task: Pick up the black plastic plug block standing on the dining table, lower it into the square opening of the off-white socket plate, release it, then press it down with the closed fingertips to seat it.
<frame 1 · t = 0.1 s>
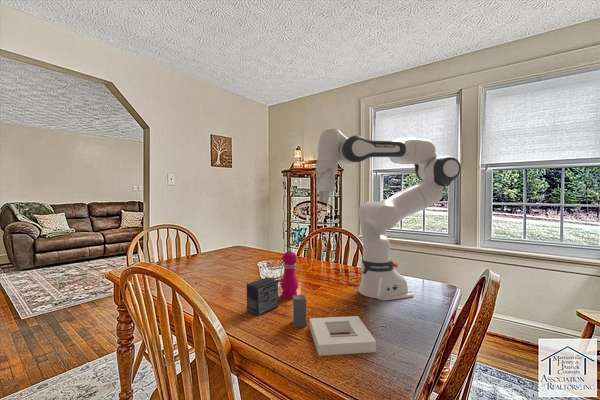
hand: (323, 202, 122), 39 cm above the table, tool pointing down, fingers open, 8 cm apart
small box: (262, 310, 109), on the table
socket: (340, 338, 88), on the table
plug: (299, 323, 98), on the table
pepper mill: (289, 296, 123), on the table
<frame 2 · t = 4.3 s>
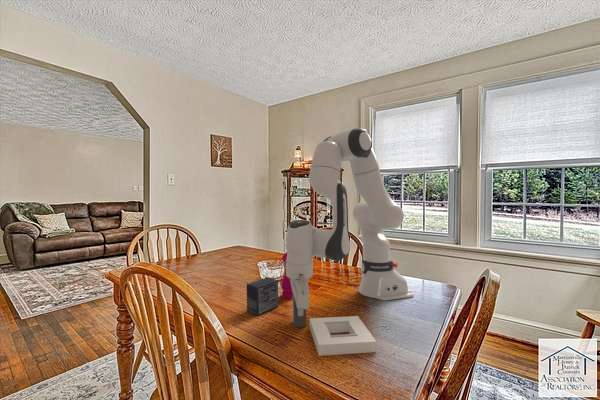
hand: (299, 311, 98), 4 cm above the table, tool pointing down, fingers closed on plug, 4 cm apart
plug: (299, 323, 98), on the table, touching gripper
everything else where it was.
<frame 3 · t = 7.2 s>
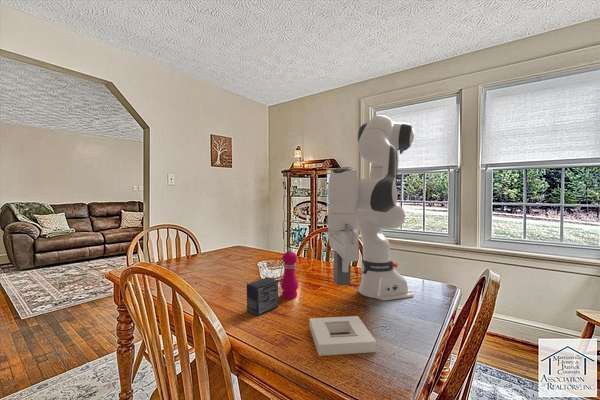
hand: (342, 269, 87), 21 cm above the table, tool pointing down, fingers closed on plug, 4 cm apart
plug: (341, 282, 88), point 17 cm above the table, touching gripper
everything else where it was.
when the fingers open (5 cm above the table, at t = 10.5 s): plug stays where it is, resting in socket.
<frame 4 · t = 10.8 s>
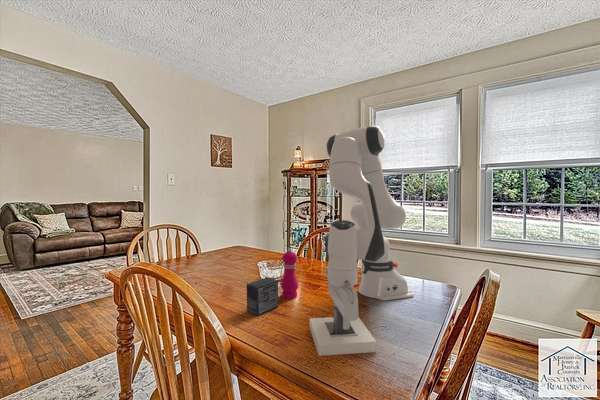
hand: (342, 322, 88), 5 cm above the table, tool pointing down, fingers open, 6 cm apart
plug: (341, 338, 88), resting in socket
everything else where it was.
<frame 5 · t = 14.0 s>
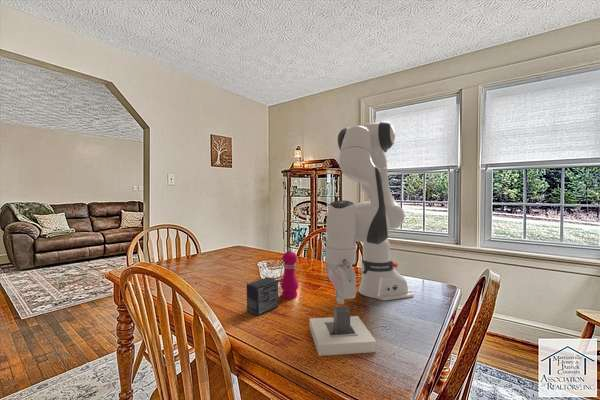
hand: (339, 302, 88), 11 cm above the table, tool pointing down, fingers closed
nothing on the table moved.
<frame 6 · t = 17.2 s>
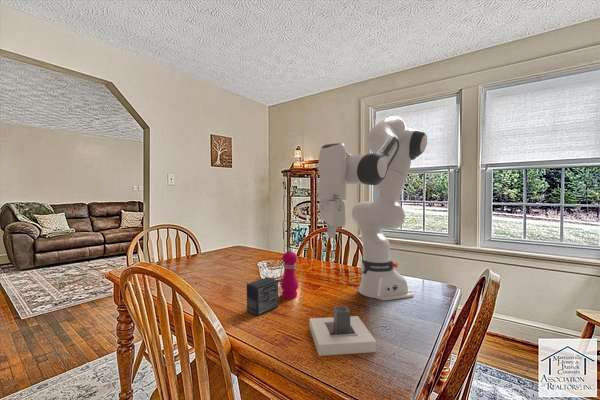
hand: (331, 237, 95), 29 cm above the table, tool pointing down, fingers closed
nothing on the table moved.
at the end: plug 0.4 cm off-centre on the socket, point 0.0 cm above the socket's base; plug tilted 0°; the gripper is holding nothing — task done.
